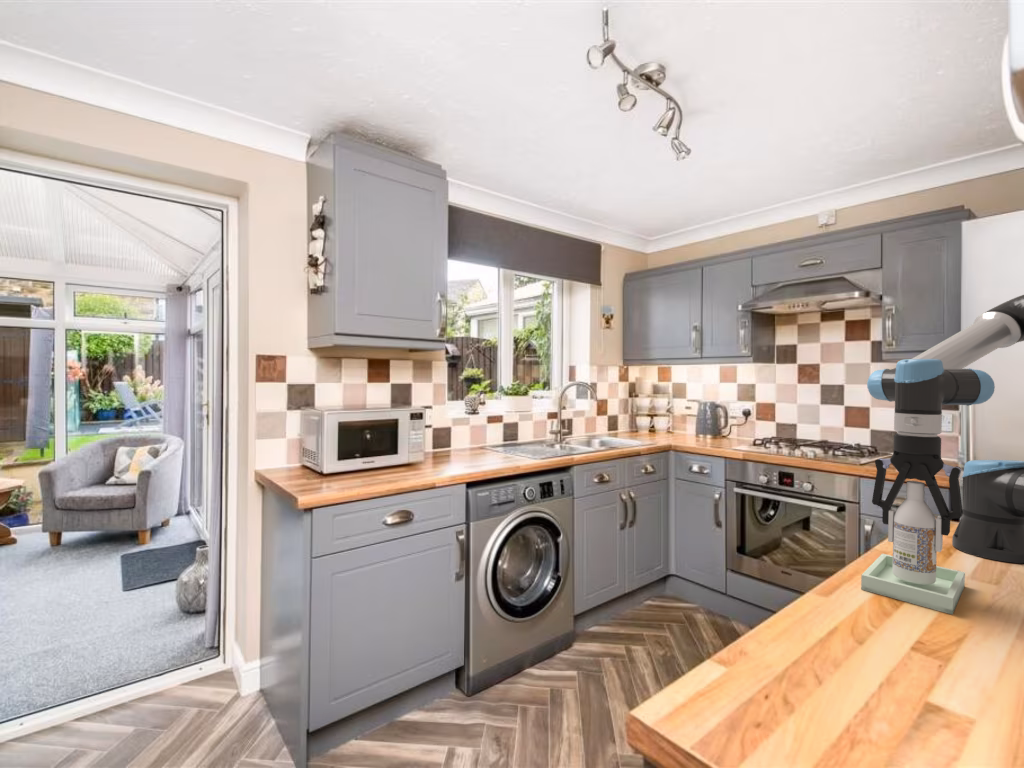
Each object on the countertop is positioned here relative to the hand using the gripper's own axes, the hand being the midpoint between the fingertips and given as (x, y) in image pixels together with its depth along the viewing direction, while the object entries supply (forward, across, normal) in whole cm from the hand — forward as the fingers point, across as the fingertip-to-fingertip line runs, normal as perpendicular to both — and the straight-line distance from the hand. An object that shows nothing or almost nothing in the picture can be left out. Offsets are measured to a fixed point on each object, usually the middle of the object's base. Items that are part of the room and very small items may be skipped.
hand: (914, 544), depth 101 cm
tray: (+9, 0, 0) cm, 9 cm away
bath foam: (+7, 0, 0) cm, 7 cm away
